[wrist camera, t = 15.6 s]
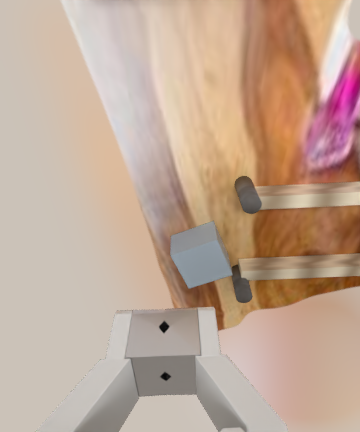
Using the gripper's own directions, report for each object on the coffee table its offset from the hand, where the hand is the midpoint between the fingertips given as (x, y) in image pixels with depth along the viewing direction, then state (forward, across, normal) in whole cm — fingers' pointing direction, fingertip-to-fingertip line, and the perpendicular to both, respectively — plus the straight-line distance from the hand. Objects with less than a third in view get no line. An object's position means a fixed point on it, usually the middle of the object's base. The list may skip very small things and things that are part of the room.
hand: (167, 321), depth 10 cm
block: (+33, -3, +22) cm, 40 cm away
